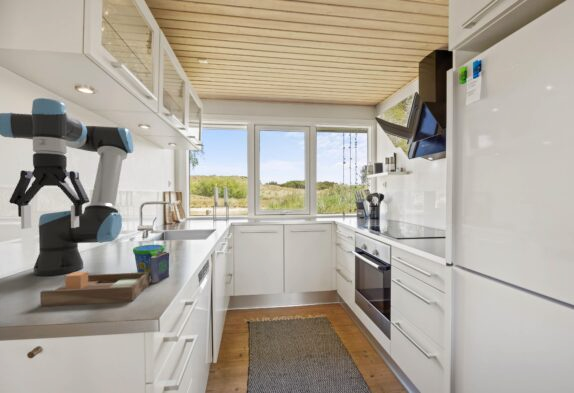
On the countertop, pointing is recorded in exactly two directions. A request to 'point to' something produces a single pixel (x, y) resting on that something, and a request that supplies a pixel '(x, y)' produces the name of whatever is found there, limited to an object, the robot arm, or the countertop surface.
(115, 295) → the wooden tray
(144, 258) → the snack cup
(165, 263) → the purple carton
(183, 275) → the countertop surface
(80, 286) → the block
